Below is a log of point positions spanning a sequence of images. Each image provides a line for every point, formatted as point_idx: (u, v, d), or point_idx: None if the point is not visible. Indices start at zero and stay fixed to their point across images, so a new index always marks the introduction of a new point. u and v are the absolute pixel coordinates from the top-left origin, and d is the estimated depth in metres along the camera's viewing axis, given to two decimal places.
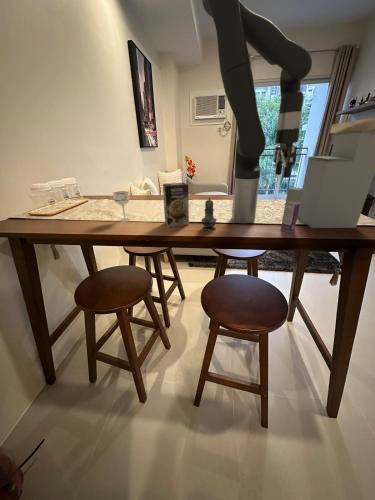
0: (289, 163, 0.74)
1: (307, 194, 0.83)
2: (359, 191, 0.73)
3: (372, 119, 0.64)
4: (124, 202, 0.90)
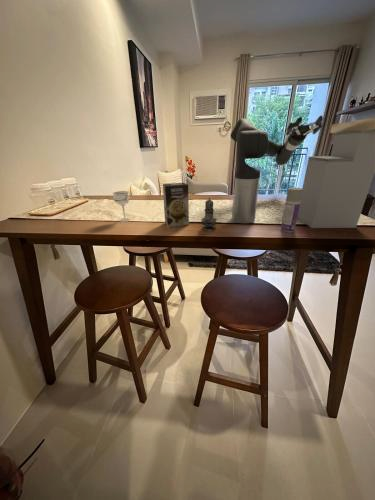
0: None
1: (307, 194, 0.83)
2: (359, 191, 0.73)
3: (372, 119, 0.64)
4: (124, 202, 0.90)
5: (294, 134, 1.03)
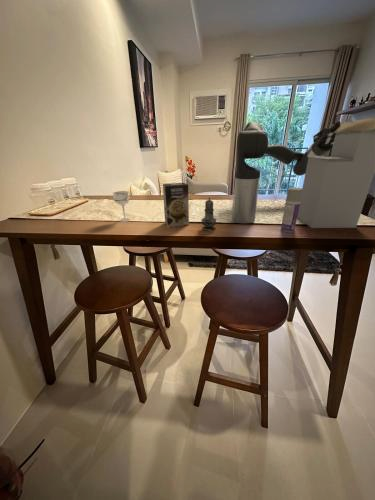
0: None
1: (307, 194, 0.83)
2: (359, 191, 0.73)
3: (372, 119, 0.64)
4: (124, 202, 0.90)
5: (320, 143, 0.90)
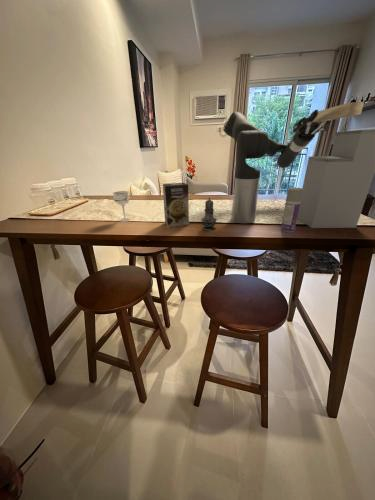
0: None
1: (307, 194, 0.83)
2: (359, 191, 0.73)
3: (345, 105, 0.63)
4: (124, 202, 0.90)
5: (300, 133, 0.89)
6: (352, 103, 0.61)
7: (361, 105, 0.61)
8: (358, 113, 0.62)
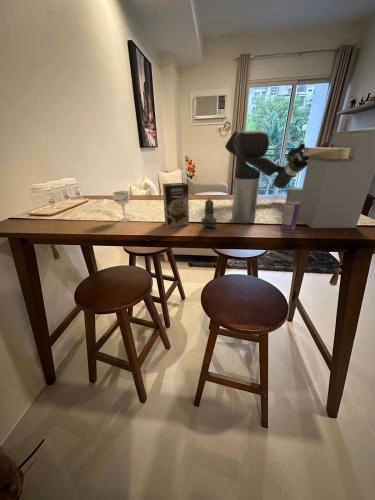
0: None
1: (307, 194, 0.83)
2: (359, 191, 0.73)
3: (333, 149, 0.68)
4: (124, 202, 0.90)
5: (296, 160, 0.93)
6: (340, 149, 0.66)
7: (348, 151, 0.66)
8: (345, 157, 0.67)
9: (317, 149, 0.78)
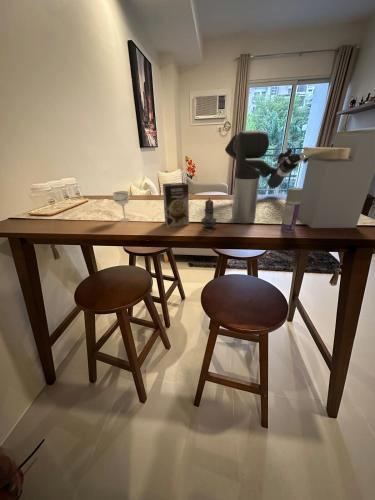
0: None
1: (307, 194, 0.83)
2: (359, 191, 0.73)
3: (333, 149, 0.68)
4: (124, 202, 0.90)
5: (285, 163, 1.05)
6: (340, 149, 0.66)
7: (348, 151, 0.66)
8: (345, 157, 0.67)
9: (317, 149, 0.78)
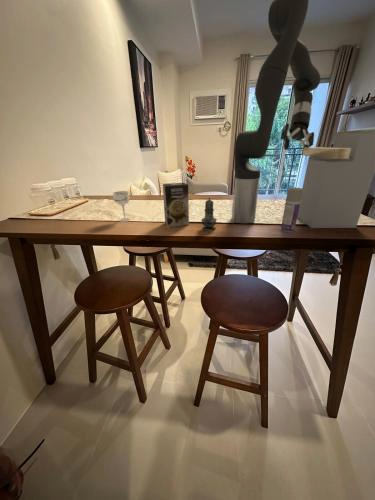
0: None
1: (307, 194, 0.83)
2: (359, 191, 0.73)
3: (334, 149, 0.68)
4: (124, 202, 0.90)
5: None
6: (340, 149, 0.66)
7: (348, 151, 0.67)
8: (346, 157, 0.67)
9: (317, 149, 0.78)
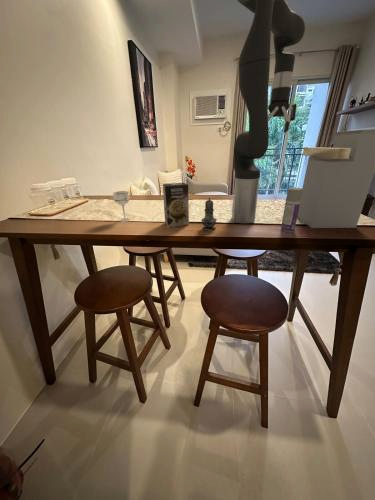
0: None
1: (307, 194, 0.83)
2: (359, 191, 0.73)
3: (334, 149, 0.68)
4: (124, 202, 0.90)
5: None
6: (340, 149, 0.66)
7: (348, 151, 0.67)
8: (346, 157, 0.67)
9: (317, 149, 0.78)
